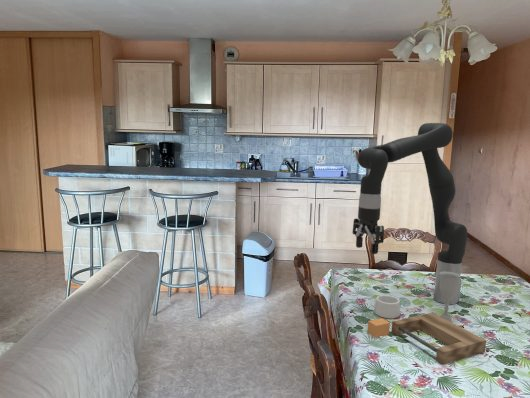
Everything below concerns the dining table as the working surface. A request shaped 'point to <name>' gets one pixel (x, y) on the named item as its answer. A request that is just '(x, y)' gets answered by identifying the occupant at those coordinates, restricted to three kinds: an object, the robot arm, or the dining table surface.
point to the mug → (387, 306)
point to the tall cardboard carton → (378, 327)
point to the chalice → (448, 289)
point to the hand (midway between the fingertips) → (366, 250)
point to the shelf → (442, 336)
